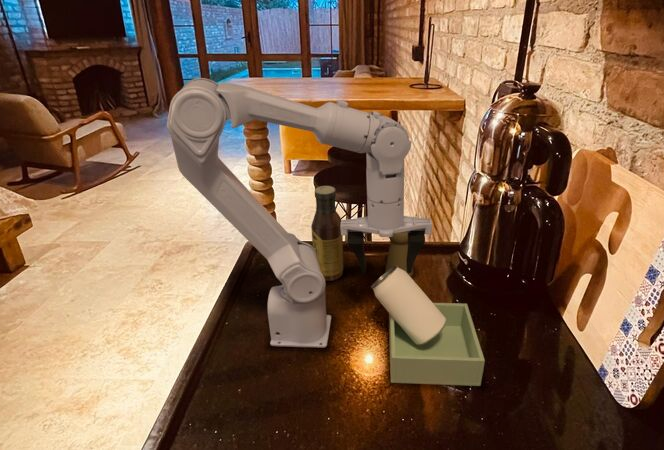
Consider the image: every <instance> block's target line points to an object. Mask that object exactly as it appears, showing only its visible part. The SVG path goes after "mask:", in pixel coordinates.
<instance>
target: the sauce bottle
mask: <svg viewBox="0 0 664 450" xmlns="http://www.w3.org/2000/svg"><path fill="white" fill-rule="evenodd" d="M336 191H337V190H336V188H335V187H334V186H331V185H320V186H318V187H316V188H315V189H314V197H315V205H316V207H315V213H314V216H313V219H312V222H311V225H310V227H311V241H312V242H311V243H312V244H311V245H312V247H313V248H314V249H315V251H316V254H317V260H318V263H319V266H320V269H321V273H322V274H323V276H324V278H325V282H333V281H337V280H339V279H340V278H341V277H342V276H343V274H344V238H343V236H344V235H343V236H341V227H340V224H341V220H342V218H341V215H339V213H338V212H337V210H336V209H337V206H336V196H337V193H336Z"/></svg>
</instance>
